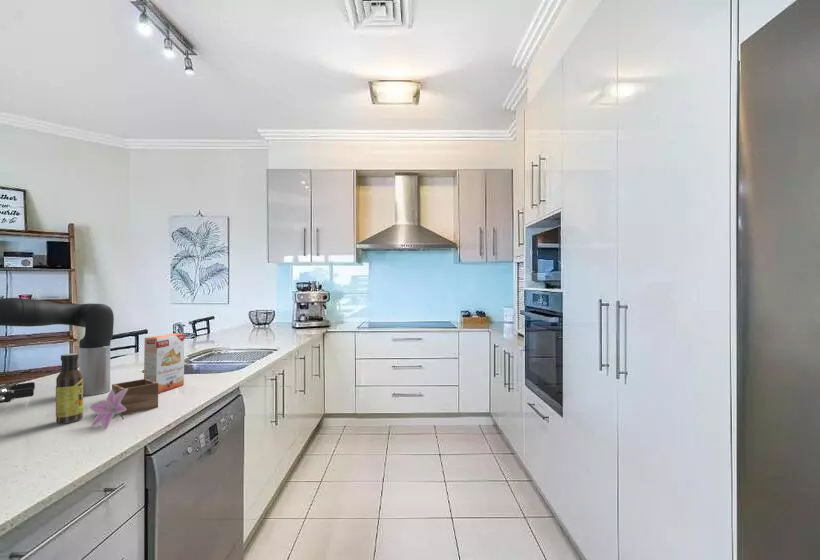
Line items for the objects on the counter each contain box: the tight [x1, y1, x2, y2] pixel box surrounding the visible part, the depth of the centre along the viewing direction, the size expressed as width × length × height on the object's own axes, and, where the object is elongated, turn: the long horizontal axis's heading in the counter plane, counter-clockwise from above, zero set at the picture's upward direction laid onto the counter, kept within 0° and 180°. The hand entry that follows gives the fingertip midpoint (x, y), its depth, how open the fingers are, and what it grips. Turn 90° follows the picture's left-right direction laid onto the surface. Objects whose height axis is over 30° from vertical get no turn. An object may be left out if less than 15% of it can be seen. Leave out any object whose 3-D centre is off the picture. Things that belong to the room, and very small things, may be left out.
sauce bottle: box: [55, 352, 84, 424], centre depth 121 cm, size 6×6×20 cm
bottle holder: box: [111, 378, 159, 416], centre depth 133 cm, size 10×10×8 cm
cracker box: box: [143, 333, 186, 394], centre depth 156 cm, size 14×6×21 cm, turn 168°
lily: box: [89, 388, 128, 430], centre depth 119 cm, size 12×12×10 cm
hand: (34, 388), depth 116 cm, fingers open, 8 cm apart
